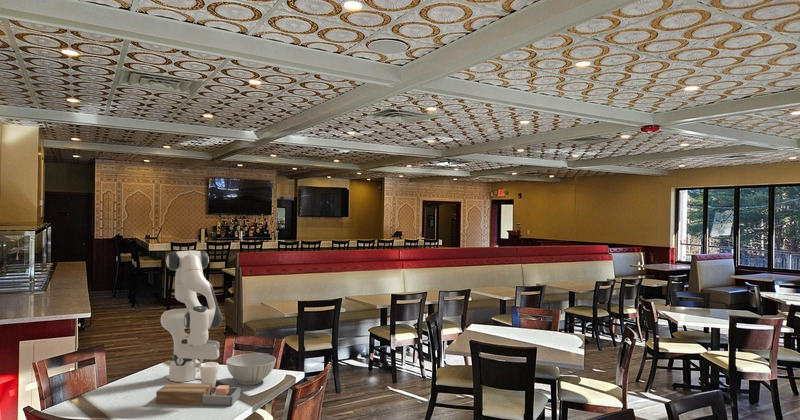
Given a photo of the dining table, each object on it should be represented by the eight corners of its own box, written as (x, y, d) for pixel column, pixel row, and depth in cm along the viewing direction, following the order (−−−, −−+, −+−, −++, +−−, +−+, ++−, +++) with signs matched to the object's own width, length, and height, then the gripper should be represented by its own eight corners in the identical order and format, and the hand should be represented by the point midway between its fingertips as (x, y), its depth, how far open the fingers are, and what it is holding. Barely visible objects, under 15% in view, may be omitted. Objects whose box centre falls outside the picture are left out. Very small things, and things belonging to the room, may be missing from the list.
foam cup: (198, 392, 274) (198, 367, 274) (199, 387, 282) (200, 362, 283) (217, 391, 276) (218, 366, 276) (218, 386, 285) (219, 361, 285)
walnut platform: (168, 394, 270) (168, 382, 270) (211, 395, 270) (212, 383, 270) (155, 404, 256) (156, 391, 256) (201, 405, 256) (202, 392, 256)
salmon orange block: (219, 391, 265) (219, 385, 265) (229, 391, 265) (229, 385, 265) (215, 394, 260) (215, 388, 260) (225, 394, 260) (225, 388, 260)
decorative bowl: (268, 390, 281) (268, 367, 281) (217, 388, 281) (218, 365, 281) (280, 375, 307) (281, 354, 308) (234, 373, 308) (235, 352, 308)
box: (212, 395, 270) (213, 386, 270) (240, 396, 270) (240, 387, 270) (202, 405, 256) (202, 395, 256) (231, 406, 256) (231, 396, 256)
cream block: (225, 391, 265) (225, 397, 265) (215, 391, 265) (215, 397, 265) (222, 394, 260) (222, 400, 260) (212, 394, 260) (212, 400, 260)
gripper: (221, 338, 266) (220, 366, 267) (181, 337, 266) (180, 364, 267) (217, 342, 260) (216, 370, 260) (175, 340, 260) (174, 368, 260)
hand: (197, 367), depth 263 cm, fingers closed
